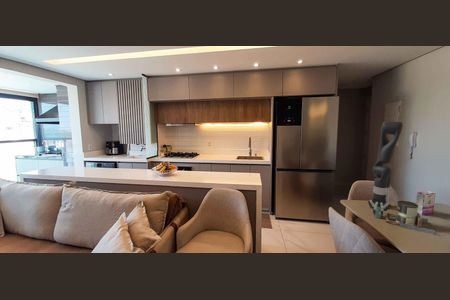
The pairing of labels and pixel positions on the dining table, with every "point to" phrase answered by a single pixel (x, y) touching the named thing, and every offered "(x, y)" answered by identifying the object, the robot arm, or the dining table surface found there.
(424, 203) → the candy bar box
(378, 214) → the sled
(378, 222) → the dining table surface
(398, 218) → the coffee can
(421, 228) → the track
